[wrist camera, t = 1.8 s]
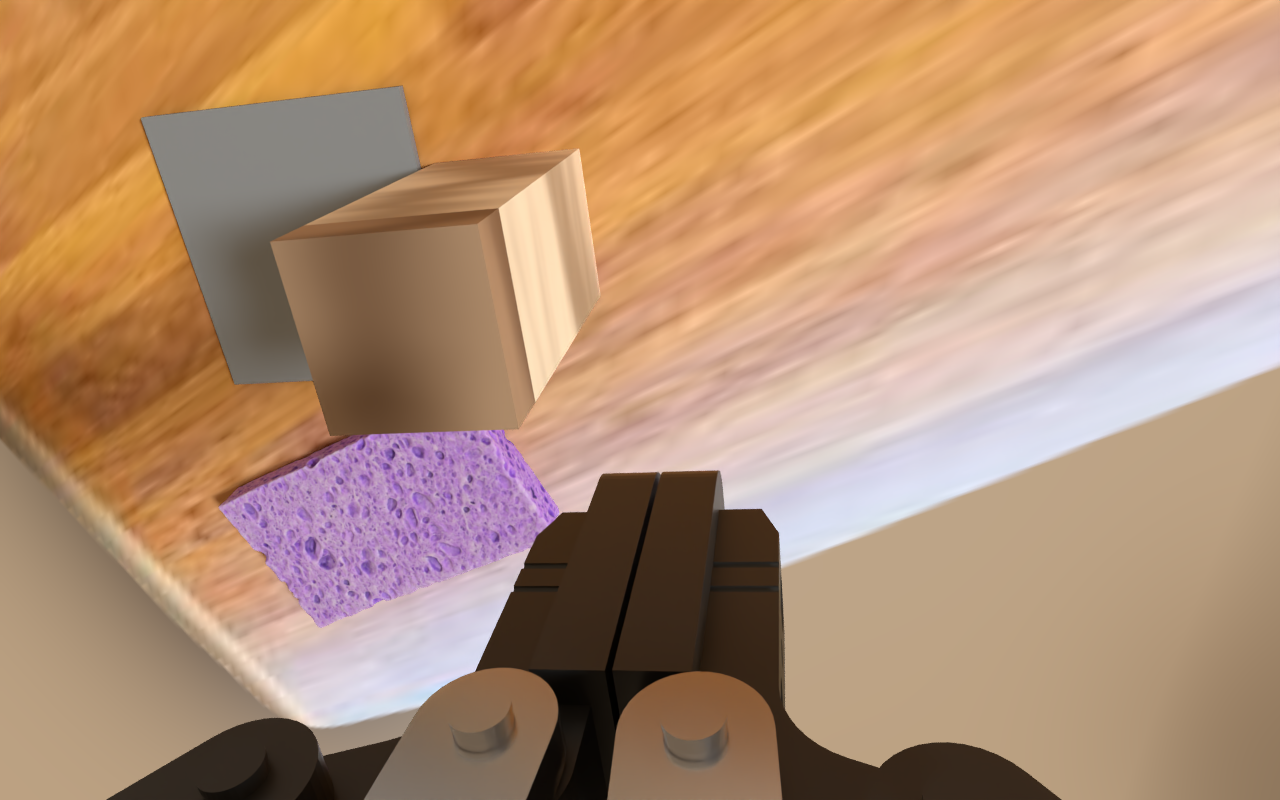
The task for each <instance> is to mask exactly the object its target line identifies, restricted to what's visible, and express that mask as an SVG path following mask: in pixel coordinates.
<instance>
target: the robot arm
mask: <svg viewBox="0 0 1280 800" xmlns="http://www.w3.org/2000/svg"><path fill="white" fill-rule="evenodd" d="M784 649H785V648H784V617H783V598H782V580H781V562H780V544H779V533H778V531H777V530H776V528H775V527H774V526H773V524H772V523H771V521H770V520H769V519H768V517H767V516H766V514H765V513H764V512H763V510H762V509H733V510H724V498H723V487H722V479H721V474H720V471H682V472H662V474H661V475H660V473H659V472H651V473H612V474H602V476H601V477H600V479H599V482H598V485H597V487H596V490H595V493H594V495H593V498H592V501H591V503H590V506H589V508H588V511H587V512H570V513H562V514H561V515H559V516H558V517H557V518H556V519H555V520H554V521H553V522H552V523H551V524H549V525H548V526H547V527H546V528H545V529H544V530H543V531H542V532H541V533H539V534H538V535H537V536H536V538H535V541H534V543H533V545H532V547H531V549H530V552H529V554H528V556H527V558H526V560H525V563H524V569H521V571H520V574H519V576H518V578H517V580H516V582H515V585H514V592H511V594H510V596H509V598H508V600H507V602H506V605H505V607H504V609H503V611H502V613H501V616H500V618H499V620H498V622H497V624H496V627H495V629H494V631H493V633H492V635H491V638H490V640H489V642H488V644H487V646H486V649H485V651H484V653H483V655H482V657H481V660H480V662H479V664H478V666H477V669H476V671H475V672H473V673H470V674H468V675H465V676H462V677H460V678H458V679H456V680H454V681H452V682H450V683H448V684H447V685H445V686H444V687H442V688H440V689H439V690H438V691H437V692H435V693H434V694H433V695H432V696H430V697H429V698H428V699H427V701H426V702H425V703H424V704H423V705H422V706H421V707H420V709H419V710H418V712H417V713H416V714H415V716H414V717H413V719H412V721H411V722H410V724H409V726H408V727H407V729H406V730H405V732H404V734H403V735H402V736H401V737H398V738H395V739H392V740H388V741H384V742H380V743H376V744H372V745H367V746H363V747H359V748H355V749H350V750H346V751H343V752H338V753H334V754H329V755H326V756H323V755H322V753H321V750H320V748H319V745H318V742H317V739H316V737H315V736H314V734H313V732H312V731H311V730H310V729H309V728H308V727H307V726H305V725H304V724H302V723H300V722H298V721H294V720H291V719H284V718H269V719H261V720H255V721H251V722H248V723H244V724H241V725H238V726H236V727H233V728H231V729H228V730H226V731H224V732H222V733H220V734H218V735H216V736H214V737H213V738H211V739H209V740H207V741H206V742H204V743H202V744H200V745H199V746H197V747H195V748H194V749H192V750H190V751H189V752H187V753H185V754H183V755H182V756H180V757H178V758H177V759H175V760H173V761H171V762H170V763H168V764H166V765H165V766H163V767H161V768H159V769H158V770H156V771H154V772H153V773H151V774H149V775H148V776H146V777H144V778H143V779H141V780H139V781H138V782H136V783H134V784H132V785H131V786H129V787H127V788H126V789H124V790H122V791H120V792H119V793H117V794H115V795H114V796H112V797H110V798H108V799H107V800H1061V799H1060V798H1059V797H1057V796H1056V795H1055V794H1053V793H1052V792H1051V791H1050V790H1048V789H1047V788H1046V787H1044V786H1043V785H1042V784H1041V783H1039V782H1038V781H1037V780H1036V779H1034V778H1033V777H1032V776H1030V775H1029V774H1028V773H1027V772H1025V771H1024V770H1022V769H1021V768H1019V767H1018V766H1016V765H1015V764H1014V763H1012V762H1010V761H1008V760H1006V759H1004V758H1003V757H1001V756H999V755H997V754H994V753H992V752H989V751H986V750H984V749H981V748H977V747H973V746H969V745H965V744H957V743H948V742H947V743H928V744H922V745H917V746H914V747H910V748H907V749H905V750H903V751H901V752H899V753H897V754H895V755H893V756H892V757H891V758H889V759H888V760H887V761H885V762H884V763H883V764H882V766H881V767H880V768H878V767H875V766H872V765H868V764H865V763H862V762H859V761H856V760H852V759H849V758H846V757H844V756H841V755H839V754H836V753H833V752H831V751H829V750H827V749H826V748H824V747H822V746H820V745H818V744H817V743H815V742H814V741H812V740H811V739H810V738H808V737H807V736H806V735H805V734H804V733H803V732H801V731H800V730H799V729H798V728H797V727H796V726H795V724H794V723H793V722H792V720H791V719H790V718H789V716H788V714H787V712H786V711H785V665H784V664H785V652H784V651H785V650H784Z"/></svg>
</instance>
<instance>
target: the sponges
mask: <svg viewBox="0 0 1280 800" xmlns="http://www.w3.org/2000/svg"><path fill="white" fill-rule="evenodd" d="M504 433H505V432H504V430H482V431H454V432H426V433H398V434H369V435H351V436H349V437H347V438H345V439H342V440H341V441H339V442H337V443H334V444H332V445H330V446H328V447H326V448H324V449H322V450H319V451H317V452H314V453H312V454H311V455H310V456H308V457H306V458H303V459H301V460H297V461H294V462H292V463H290V464H288V465H286V466H284V467H282V468H279V469H277V470H275V471H273V472H270V473H268V474H266V475H264V476H262V477H260V478H257V479H255V480H253V481H251V482H249V483H247V484H245V485H244V486H241V487H238V488H237V489H236V490H235V491H234V492H233V493H232V494H231V495H230V496H229V497H228V499H227V500H226V501H225V502H223V503H222V504H221V505H220V506H219V509H220V510H221V511H222V512H223V513H224V515H225V516H226V518H227V519H228V520H229V521H230V522H231V523H232V524H233V525H234V526H235V527H236V528H237V529H238V531H239V533H240V534H241V535H242V536H243V537H244V538H245V539H246V540H247V541H248V543H249V544H250V546H251V547H252V548H253V549H254V550H256V551H260V552H262V553H264V554H265V555H266V565H267V566H268V567H270V568H271V569H272V570H273V571H274V572H275V574H276V575H277V577H278V578H279V580H280V581H284V582H286V583H287V586H288V589H289V590H290V591H291V592H293V595H294V597H295V598H298V599H299V604H300V606H301V607H302V608H303V609H304V610H305V611H306V613H307V614H309V615H310V616H311V617H312V618H313V620H314V622H315V623H316V625H317V626H318V627H320V628H322V627H324V626H327V625H329V624H331V623H333V622H334V621H337V620H340V619H342V618H344V617H347V616H351V615H353V614H356V613H358V612H360V611H362V610H364V609H367V608H370V607H372V606H373V605H374V604H375V603H377V602H379V601H381V600H386V601H389V600H392V599H395V598H397V597H399V596H403V595H407V594H411V593H412V592H414V591H415V590H417V589H418V588H424V587H428V586H430V585H432V584H433V583H435V582H441V581H444V580H447V579H449V578H452V577H454V576H457V575H459V574H463V573H465V572H468V571H470V570H472V569H474V568H477V567H481V566H484V565H487V564H489V563H492V562H494V561H497V560H499V559H501V558H504V557H506V556H509V555H512V554H515V553H518V552H522V551H524V550H525V549H528V548H531V547H532V545H533V543H534V541H535V538H536V536H537V535H538V534H539V533H541V532H542V531H543V530H544V529H545V528H546V527H547V526H548V525H549V524H551V523H552V522H553V521H554V520H555V519H556V517H557V516H558V515H559V510H558V507H557V505H556V504H555V502H554V501H553V499H552V498H551V497H550V495H549V494H548V493H547V491H546V490H545V489H544V488H543V486H542V485H541V483H540V481H539V480H538V478H537V477H536V476H535V474H534V472H533V471H532V470H531V468H530V467H529V465H528V464H527V463H526V462H525V461H524V458H523V457H522V455H521V454H520V453H519V451H518V450H517V449H516V447H515V446H514V444H513V443H511V442H510V441H508V440H507V439H506V438H505V435H504Z"/></svg>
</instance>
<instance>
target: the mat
mask: <svg viewBox="0 0 1280 800" xmlns="http://www.w3.org/2000/svg"><path fill="white" fill-rule="evenodd" d="M141 121H142V123H143V126H144V129H145V132H146V135H147V138H148V140H149V143H150V146H151V149H152V152H153V154H154V157H155V160H156V163H157V166H158V169H159V171H160V174H161V177H162V180H163V183H164V186H165V188H166V191H167V194H168V197H169V200H170V203H171V205H172V208H173V211H174V214H175V217H176V220H177V222H178V225H179V228H180V231H181V234H182V237H183V239H184V242H185V245H186V248H187V251H188V254H189V256H190V259H191V262H192V265H193V268H194V271H195V273H196V276H197V279H198V282H199V285H200V288H201V290H202V293H203V296H204V299H205V302H206V304H207V307H208V310H209V313H210V316H211V319H212V321H213V324H214V327H215V330H216V333H217V336H218V338H219V341H220V344H221V347H222V350H223V353H224V355H225V358H226V361H227V364H228V367H229V370H230V372H231V375H232V378H233V381H234V384H235V385H236V384H256V383H276V382H296V381H313V379H312V376H311V373H310V369H309V366H308V363H307V360H306V356H305V353H304V350H303V347H302V344H301V340H300V337H299V334H298V331H297V327H296V324H295V321H294V318H293V315H292V311H291V308H290V305H289V302H288V298H287V295H286V292H285V289H284V286H283V282H282V279H281V276H280V273H279V269H278V266H277V263H276V260H275V256H274V253H273V250H272V247H271V244H270V242H271V241H273V240H275V239H277V238H279V237H281V236H283V235H285V234H287V233H289V232H291V231H294V230H296V229H298V228H300V227H302V226H304V225H306V224H308V223H310V222H312V221H314V220H317V219H319V218H321V217H323V216H325V215H327V214H329V213H331V212H333V211H335V210H337V209H340V208H342V207H344V206H346V205H348V204H350V203H352V202H354V201H356V200H358V199H360V198H363V197H365V196H367V195H369V194H371V193H373V192H375V191H377V190H379V189H381V188H384V187H386V186H388V185H390V184H392V183H394V182H396V181H398V180H400V179H402V178H404V177H407V176H409V175H411V174H413V173H415V172H417V171H419V170H421V166H420V162H419V158H418V153H417V149H416V144H415V140H414V135H413V131H412V126H411V122H410V117H409V113H408V108H407V104H406V99H405V95H404V91H403V86H396V87H388V88H380V89H371V90H363V91H355V92H347V93H338V94H330V95H322V96H314V97H305V98H297V99H289V100H281V101H272V102H264V103H256V104H248V105H239V106H231V107H223V108H215V109H206V110H198V111H190V112H182V113H173V114H165V115H157V116H149V117H143V118H141Z"/></svg>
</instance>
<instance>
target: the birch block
mask: <svg viewBox="0 0 1280 800" xmlns="http://www.w3.org/2000/svg"><path fill="white" fill-rule="evenodd" d="M270 244H271V247H272V250H273V253H274V256H275V260H276V263H277V266H278V269H279V273H280V276H281V279H282V282H283V286H284V289H285V292H286V295H287V298H288V302H289V305H290V308H291V311H292V315H293V318H294V321H295V324H296V327H297V331H298V334H299V337H300V340H301V344H302V347H303V350H304V353H305V356H306V360H307V363H308V366H309V369H310V373H311V376H312V379H313V382H314V385H315V389H316V392H317V395H318V398H319V402H320V405H321V408H322V411H323V414H324V418H325V421H326V424H327V427H328V431H329V434H330V436H341V435H369V434H398V433H426V432H454V431H482V430H510V429H519V428H520V427H521V425H522V423H523V422H524V420H525V418H526V417H527V415H528V413H529V412H530V410H531V409H532V407H533V405H534V404H535V402H536V400H537V399H538V397H539V396H540V394H541V392H542V391H543V389H544V387H545V386H546V384H547V383H548V381H549V379H550V378H551V376H552V374H553V373H554V371H555V369H556V368H557V366H558V365H559V363H560V361H561V360H562V358H563V356H564V355H565V353H566V352H567V350H568V348H569V347H570V345H571V343H572V342H573V340H574V339H575V337H576V335H577V334H578V332H579V330H580V329H581V327H582V325H583V324H584V322H585V321H586V319H587V317H588V316H589V314H590V312H591V311H592V309H593V308H594V306H595V304H596V303H597V301H598V299H599V298H600V289H599V282H598V275H597V268H596V261H595V254H594V247H593V241H592V234H591V227H590V220H589V213H588V206H587V199H586V192H585V185H584V178H583V172H582V165H581V158H580V151H579V149H569V150H559V151H549V152H539V153H529V154H519V155H510V156H500V157H490V158H480V159H470V160H460V161H450V162H441V163H434V164H432V165H430V166H427V167H425V168H423V169H421V170H419V171H417V172H415V173H413V174H411V175H409V176H407V177H404V178H402V179H400V180H398V181H396V182H394V183H392V184H390V185H388V186H386V187H384V188H381V189H379V190H377V191H375V192H373V193H371V194H369V195H367V196H365V197H363V198H360V199H358V200H356V201H354V202H352V203H350V204H348V205H346V206H344V207H342V208H340V209H337V210H335V211H333V212H331V213H329V214H327V215H325V216H323V217H321V218H319V219H317V220H314V221H312V222H310V223H308V224H306V225H304V226H302V227H300V228H298V229H296V230H294V231H291V232H289V233H287V234H285V235H283V236H281V237H279V238H277V239H275V240H273V241H271V242H270Z"/></svg>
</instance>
